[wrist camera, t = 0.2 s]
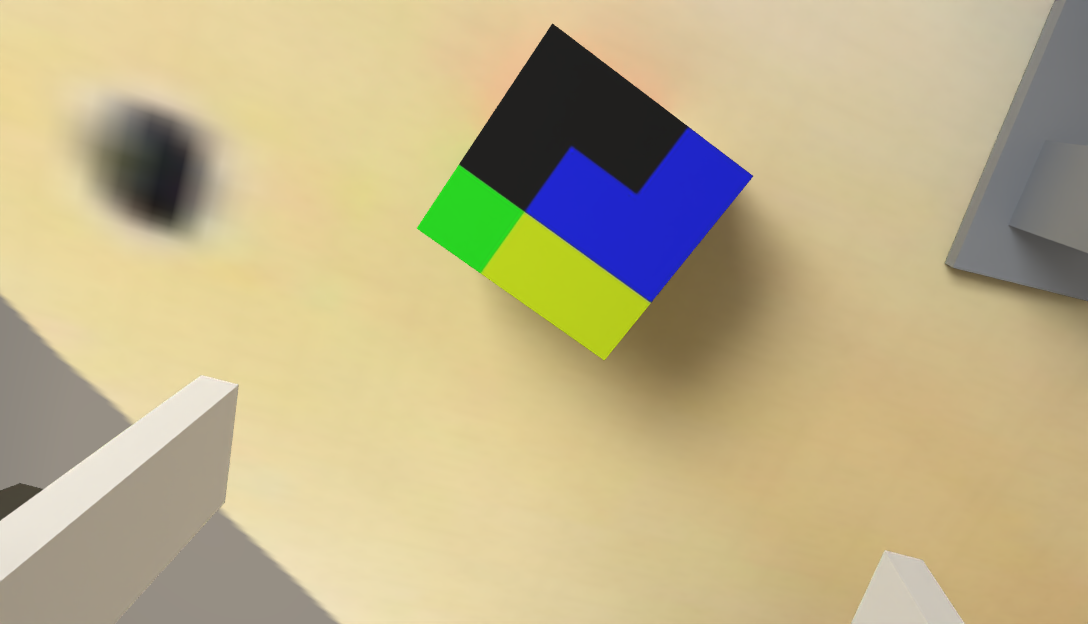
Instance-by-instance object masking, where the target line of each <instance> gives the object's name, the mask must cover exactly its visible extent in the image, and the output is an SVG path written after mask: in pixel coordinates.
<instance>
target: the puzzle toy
mask: <svg viewBox="0 0 1088 624" xmlns="http://www.w3.org/2000/svg"><path fill="white" fill-rule="evenodd" d="M752 177H753V175H751V174H750V173H749V172H747V171H746V170H745V169H743V168H742V167H741V166H739V165H738V164H737V163H735V162H734V161H733V160H731V159H730V158H729V157H728V156H726V155H725V154H724V153H722V152H721V151H720V150H718V149H717V148H716V147H714V146H713V145H712V144H710V143H709V142H708V141H706V140H705V139H704V138H703V137H701V136H700V135H699V134H697V133H696V132H695V131H693V130H692V129H691V128H689V127H688V126H687V125H685V124H684V123H683V122H681V121H680V120H679V119H677V118H676V117H675V116H674V115H672V114H671V113H670V112H668V111H667V110H666V109H664V108H663V107H662V106H660V105H659V104H658V103H656V102H655V101H654V100H652V99H651V98H650V97H649V96H647V95H646V94H645V93H643V92H642V91H641V90H639V89H638V88H637V87H635V86H634V85H633V84H631V83H630V82H629V81H627V80H626V79H625V78H624V77H622V76H621V75H620V74H618V73H617V72H616V71H614V70H613V69H612V68H610V67H609V66H608V65H606V64H605V63H604V62H602V61H601V60H600V59H599V58H597V57H596V56H595V55H593V54H592V53H591V52H589V51H588V50H587V49H585V48H584V47H583V46H581V45H580V44H579V43H577V42H576V41H575V40H574V39H572V38H571V37H570V36H568V35H567V34H566V33H564V32H563V31H562V30H560V29H559V28H558V27H556V26H555V25H554V24H552V25H551V26H550V28H549V29H548V31H547V32H546V34H545V35H544V37H543V38H542V40H541V42H540V43H539V45H538V46H537V48H536V49H535V51H534V52H533V54H532V55H531V57H530V58H529V60H528V61H527V63H526V64H525V66H524V67H523V69H522V70H521V72H520V73H519V75H518V76H517V78H516V79H515V81H514V82H513V84H512V85H511V87H510V88H509V90H508V91H507V93H506V94H505V96H504V97H503V99H502V100H501V102H500V103H499V105H498V106H497V108H496V109H495V111H494V112H493V114H492V115H491V117H490V119H489V120H488V122H487V123H486V125H485V126H484V128H483V129H482V131H481V132H480V134H479V135H478V137H477V138H476V140H475V141H474V143H473V144H472V146H471V147H470V149H469V150H468V152H467V153H466V155H465V156H464V158H463V159H462V161H461V162H460V164H459V165H458V167H457V168H456V170H455V171H454V173H453V174H452V176H451V177H450V179H449V180H448V182H447V183H446V185H445V186H444V188H443V189H442V191H441V192H440V194H439V196H438V197H437V199H436V200H435V202H434V203H433V205H432V206H431V208H430V209H429V211H428V212H427V214H426V215H425V217H424V218H423V220H422V221H421V223H420V224H419V226H418V227H417V229H418V230H420V231H421V232H423V233H424V234H425V235H427V236H428V237H430V238H431V239H432V240H434V241H435V242H437V243H438V244H440V245H441V246H442V247H444V248H445V249H447V250H448V251H450V252H451V253H452V254H454V255H455V256H457V257H458V258H459V259H461V260H462V261H464V262H465V263H467V264H468V265H469V266H471V267H472V268H474V269H475V270H476V271H478V272H479V273H481V274H482V275H484V276H485V277H486V278H488V279H489V280H491V281H492V282H494V283H495V284H496V285H498V286H499V287H501V288H502V289H503V290H505V291H506V292H508V293H509V294H511V295H512V296H513V297H515V298H516V299H518V300H519V301H520V302H522V303H523V304H525V305H526V306H528V307H529V308H530V309H532V310H533V311H535V312H536V313H538V314H539V315H540V316H542V317H543V318H545V319H546V320H547V321H549V322H550V323H552V324H553V325H555V326H556V327H557V328H559V329H560V330H562V331H563V332H565V333H566V334H567V335H569V336H570V337H572V338H573V339H574V340H576V341H577V342H579V343H580V344H582V345H583V346H584V347H586V348H587V349H589V350H590V351H591V352H593V353H594V354H596V355H597V356H599V357H600V358H601V359H603V360H605V359H606V358H607V357H608V355H609V354H610V353H611V352H612V350H613V349H614V348H615V347H616V346H617V344H618V343H619V342H620V341H621V339H622V338H623V337H624V336H625V334H626V333H627V332H628V331H629V329H630V328H631V327H632V326H633V324H634V323H635V322H636V321H637V320H638V318H639V317H640V316H641V315H642V313H643V312H644V311H645V310H646V308H647V307H648V306H649V305H650V303H651V302H652V301H653V300H654V298H655V297H656V296H657V295H658V294H659V292H660V291H661V290H662V289H663V287H664V286H665V285H666V284H667V282H668V281H669V280H670V279H671V277H672V276H673V275H674V274H675V273H676V271H677V270H678V269H679V268H680V266H681V265H682V264H683V263H684V261H685V260H686V259H687V258H688V256H689V255H690V254H691V253H692V251H693V250H694V249H695V248H696V247H697V245H698V244H699V243H700V242H701V240H702V239H703V238H704V237H705V235H706V234H707V233H708V232H709V230H710V229H711V228H712V227H713V225H714V224H715V223H716V222H717V221H718V219H719V218H720V217H721V216H722V214H723V213H724V212H725V211H726V209H727V208H728V207H729V206H730V204H731V203H732V202H733V201H734V199H735V198H736V197H737V196H738V195H739V193H740V192H741V191H742V190H743V188H744V187H745V186H746V185H747V183H748V182H749V181H750V180H751V178H752Z"/></svg>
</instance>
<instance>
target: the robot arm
mask: <svg viewBox="0 0 1088 624" xmlns="http://www.w3.org/2000/svg"><path fill="white" fill-rule="evenodd" d="M238 386H239V385H238V384H234V383H230V382H226V381H222V380H219V379H215V378H211V377H207V376H203V375H201V376H199V377H198V378H196V379H195V380H194V381H192V382H191V383H189V384H188V385H187V386H185V387H184V388H183V389H181V390H180V391H178V392H177V393H176V394H174V395H173V396H172V397H170V398H169V399H167V400H166V401H165V402H163V403H162V404H161V405H159V406H158V407H156V408H155V409H154V410H152V411H151V412H150V413H148V414H147V415H145V416H144V417H143V418H141V419H140V420H138V421H137V422H136V423H134V424H133V425H132V426H130V427H129V428H127V429H126V430H125V431H123V432H122V433H121V434H119V435H118V436H116V437H115V438H114V439H112V440H111V441H110V442H108V443H107V444H106V445H104V446H103V447H101V448H100V449H99V450H97V451H96V452H94V453H93V454H92V455H90V456H89V457H88V458H86V459H85V460H83V461H82V462H81V463H79V464H78V465H76V466H75V467H74V468H72V469H71V470H70V471H68V472H67V473H65V474H64V475H63V476H61V477H60V478H59V479H57V480H56V481H54V482H53V483H52V484H50V485H49V486H48V487H46V488H45V489H40V488H37V487H33V486H29V485H25V484H21V483H19V484H17V485H14V486H11V487H9V488H6V489H3V490H0V624H115V623H116V622H117V621H118V620H119V618H120V617H121V616H122V615H123V614H124V613H125V612H126V611H127V610H128V609H129V607H130V606H131V605H132V604H133V603H134V602H135V601H136V600H137V598H139V596H140V595H141V594H142V593H143V592H144V591H145V590H146V589H147V587H148V586H149V585H150V584H151V583H152V582H153V581H154V580H155V579H156V578H157V577H158V575H159V574H160V573H161V572H162V571H163V570H164V569H165V568H166V567H167V566H168V564H169V563H170V562H171V561H172V560H173V559H174V558H175V557H176V556H177V554H178V553H179V552H180V551H181V550H182V549H183V548H184V547H185V546H186V545H187V543H188V542H189V541H190V540H191V539H192V538H193V537H194V535H196V533H197V532H198V531H199V530H200V529H201V528H202V527H203V526H204V525H205V524H206V522H207V521H208V520H209V519H210V518H211V517H212V516H213V515H214V514H215V513H216V511H217V510H218V509H219V508H220V507H221V506H222V505H223V504H224V503H225V497H226V489H227V480H228V472H229V463H230V454H231V446H232V437H233V429H234V420H235V412H236V403H237V395H238ZM851 624H965V623H964V622H963V620H962V619H961V617H960V616H959V614H958V613H957V611H956V610H955V608H954V607H953V605H952V604H951V602H950V601H949V599H948V598H947V596H946V595H945V593H944V592H943V590H942V589H941V587H940V586H939V584H938V583H937V581H936V580H935V578H934V576H933V575H932V573H931V572H930V570H929V569H928V567H927V566H926V564H925V563H924V561H923V560H921V559H917V558H913V557H909V556H905V555H901V554H898V553H894V552H890V551H886V550H885V551H884V553H883V555H882V557H881V559H880V562H879V564H878V566H877V568H876V570H875V572H874V575H873V577H872V579H871V581H870V583H869V585H868V588H867V590H866V592H865V594H864V596H863V598H862V601H861V603H860V605H859V607H858V609H857V611H856V614H855V616H854V618H853V620H852V622H851Z"/></svg>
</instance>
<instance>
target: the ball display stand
mask: <svg viewBox="0 0 1088 624" xmlns="http://www.w3.org/2000/svg"><path fill="white" fill-rule="evenodd" d="M945 264H947V265H949V266H951V267H953V268H956V269H960V270H964V271H968V272H972V273H976V274H981V275H985V276H989V277H993V278H997V279H1001V280H1005V281H1009V282H1013V283H1017V284H1021V285H1025V286H1029V287H1033V288H1037V289H1041V290H1045V291H1049V292H1053V293H1057V294H1061V295H1065V296H1069V297H1073V298H1077V299H1082V300H1086V301H1088V0H1055V1H1054V4H1053V6H1052V8H1051V11H1050V13H1049V16H1048V18H1047V20H1046V23H1045V25H1044V28H1043V30H1042V32H1041V35H1040V37H1039V39H1038V42H1037V44H1036V47H1035V49H1034V51H1033V54H1032V56H1031V59H1030V61H1029V63H1028V66H1027V68H1026V70H1025V73H1024V75H1023V78H1022V80H1021V82H1020V85H1019V87H1018V89H1017V92H1016V94H1015V97H1014V99H1013V101H1012V104H1011V106H1010V109H1009V111H1008V113H1007V116H1006V118H1005V120H1004V123H1003V125H1002V128H1001V130H1000V132H999V135H998V137H997V140H996V142H995V144H994V147H993V149H992V151H991V154H990V156H989V159H988V161H987V163H986V166H985V168H984V171H983V173H982V175H981V178H980V180H979V182H978V185H977V187H976V190H975V192H974V194H973V197H972V199H971V202H970V204H969V206H968V209H967V211H966V213H965V216H964V218H963V221H962V223H961V225H960V228H959V230H958V232H957V235H956V237H955V240H954V242H953V244H952V247H951V249H950V252H949V254H948V256H947V259H946V261H945Z"/></svg>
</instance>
